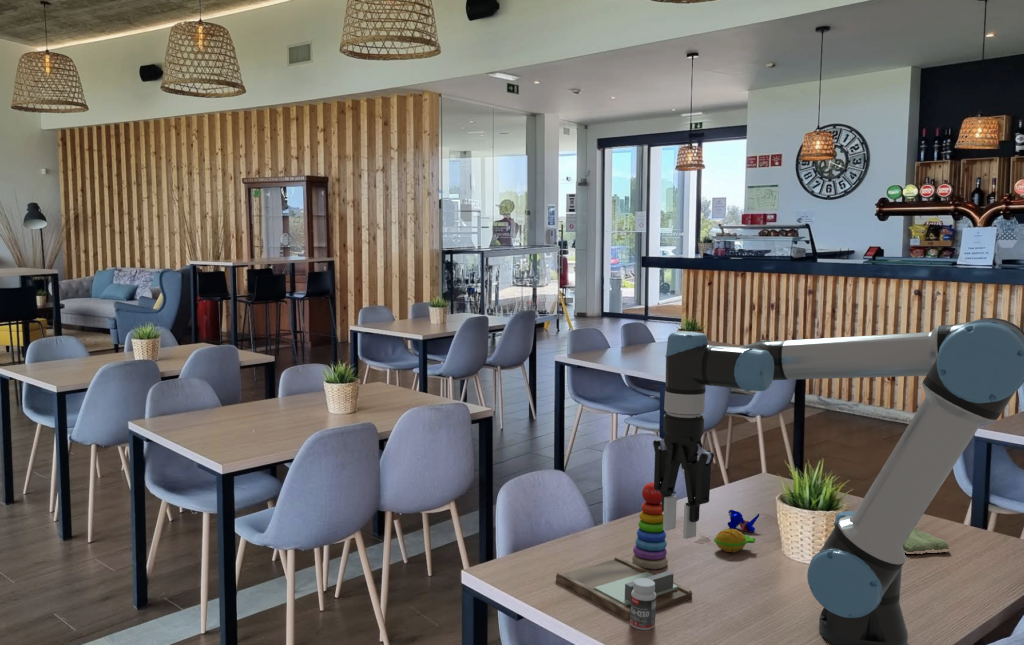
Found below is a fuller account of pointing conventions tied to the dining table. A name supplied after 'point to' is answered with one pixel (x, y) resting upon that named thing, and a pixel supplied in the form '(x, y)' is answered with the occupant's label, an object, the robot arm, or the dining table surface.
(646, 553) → the stacking toy
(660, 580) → the lid
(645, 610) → the pill bottle
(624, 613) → the wooden frame
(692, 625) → the dining table surface
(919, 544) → the washcloth
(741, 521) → the figurine
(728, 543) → the toy pineapple
